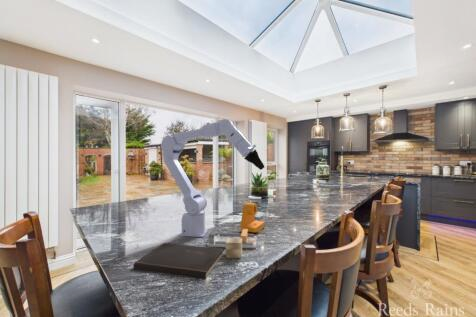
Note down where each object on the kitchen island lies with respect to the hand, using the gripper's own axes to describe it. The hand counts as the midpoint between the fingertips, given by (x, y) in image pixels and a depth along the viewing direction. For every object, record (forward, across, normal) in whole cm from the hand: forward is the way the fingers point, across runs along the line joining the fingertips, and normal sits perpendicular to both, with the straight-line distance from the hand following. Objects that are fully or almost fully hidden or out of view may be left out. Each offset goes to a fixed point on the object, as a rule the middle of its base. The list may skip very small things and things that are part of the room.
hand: (262, 168), depth 89 cm
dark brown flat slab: (+7, -20, +39) cm, 44 cm away
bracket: (+18, +14, +22) cm, 31 cm away
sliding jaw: (+16, -2, +23) cm, 29 cm away
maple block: (+16, -13, +26) cm, 34 cm away
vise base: (+14, -2, +28) cm, 31 cm away
